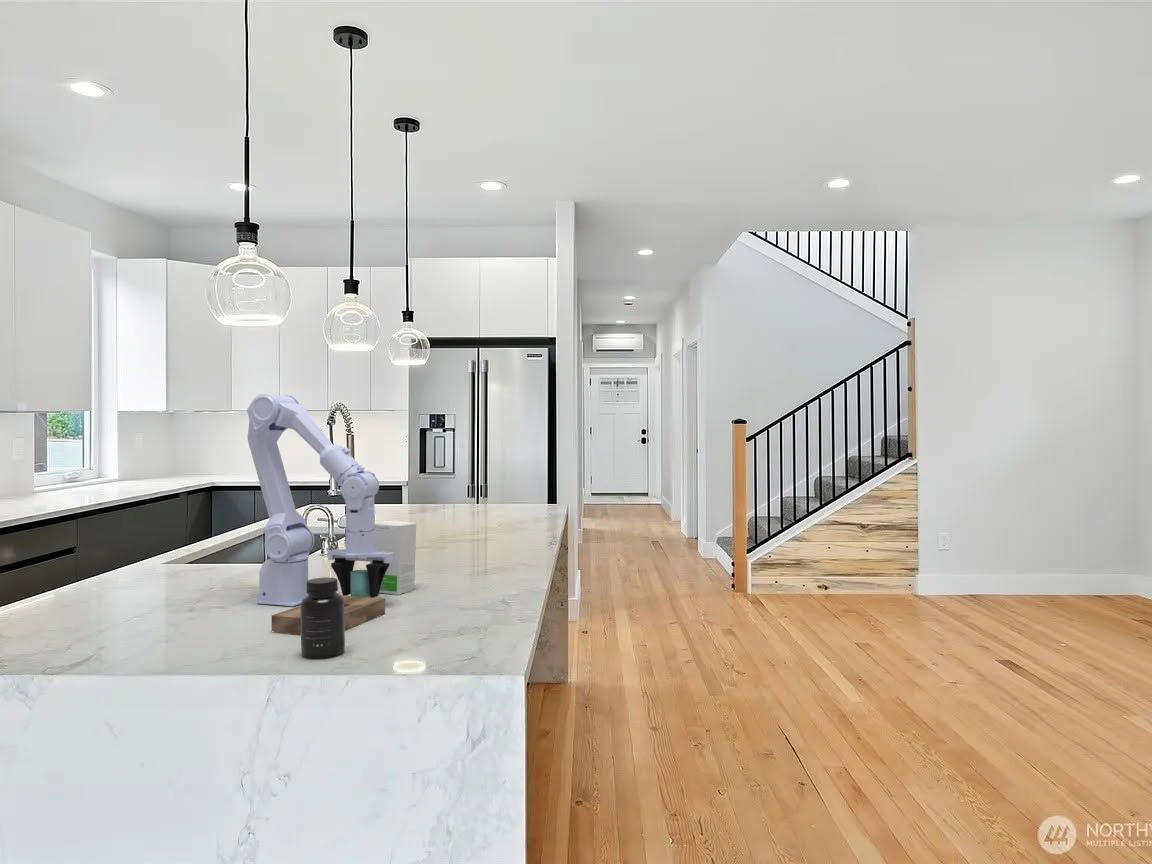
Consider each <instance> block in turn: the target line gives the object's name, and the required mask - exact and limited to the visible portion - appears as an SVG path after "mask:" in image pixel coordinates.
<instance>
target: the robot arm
mask: <svg viewBox="0 0 1152 864" xmlns="http://www.w3.org/2000/svg"><path fill="white" fill-rule="evenodd" d="M246 412H247V415H248V419H249V421H248V422H249V423H248V431H247V442H248V446H249V449H250V453H251V457H252V459H253V460H252V461H253V463H254V468H255V471H256V475H257V478H258V482H259V485H260V490H261V492H262V496H263V500H264V504H265V507H266V511H267V514H268V518H269V519H268V521H267V523H266V525H265V526H264V528H263V531H264V536H265V539H264V540H265V541H264V550H265V553H266V555H267V556H268V558H269V559H267V560H265V561H264V562H263V563H262V564H261V567H260V569H259V574H258V575H259V576H258V577H259V578H258V579H259V580H258V581H259V582H258V583H259V584H258V585H259V586H258V587H259V589H258V590H259V599H258V600H257V601H256V603H257V604H262V605H275V606H287V607H295V606H296V607H297V606H298V605H299V606H300V605H301V602H302V600H303V599H304V598H305V597H307V596H308V593H306V589H307V581H308V580H309V557H310V552H311V551H312V549H313V547H314V545H315V541H316V540H315V535H314V533H313V530H311V529H310V528H309V527H308V525H307V521H306V519H305V517H303V516H302V515H301V514H300V513H299V512H298V511H297V509H296V505H295V503H294V502H295V501H294V499H293V495H292V492H291V488H290V484H289V480H288V477H287V474H286V470H285V467H284V463H283V459H282V456H281V452H280V449H279V445H278V440H279V438H280V437H282V435H283V434H284V432H285V431H287V430H288V429H291V430H293V431H295V432H296V433H297V434H298V435H299V436H300V437H301V438H302V439H303V441H305V442H306V443H307V444H308V445H309V446H310V447H311V448H312V449H314V451H315V452H316V453H317V454H318V455H319V463H320V464H319V465H320V466H321V467H322V468H323V469H324V470H325V471H326V472H327V473H328V474H329V475H330V476H331V477H332V479H334V481H335V482H336V483H337V484H338V485H339V486H340V487H339V491H340V494H341V496H342V498H343V499H344V502H345V543H346V544H345V549H335V548H334V549H329V550H327V559H328V560H329V561H333V562H332V563H330V567H331V569H332V570H333V572H334V573H335V575H336V577H337V578H336V579H337V581H338V582H339V583H338V584H339V586H340V589H341V595H345V596H350V595H351V571H354V566H355V564H356V562H369V563H367V564H365V568H366V570H367V572H368V576H369V590H370V598H378V597H379V595H380V593H379V591H380V587H381V583H382V580H383V577H384V575H385V573H386V571H387V569H388V567H389V565H390V563H391V562H393V553H392V552H383V551H377V550H375V520H376V519H375V516H376V515H375V510H376V509H375V496H376V495H377V494H378V492H379V489H380V482H379V479H378V478H377V475H376V474H375V473H374V472H372V471H368V470H365V467H364V466H363V465H362V464H359V463H358V461H357V460H355V458H353V456H352V455H351V454H350V453H351V450H350V449H349V448H348V447H343V446H342V445H339V444H337V445H336V444H333V442H331V440H330V439H329V438H328V437H327V435H326V434H325V432H324V431H322V429H321V428H320V427H319V425H318V424H317V423H316V421H314V419H313V418H312V417H311V416H310V414H309V413H308V411H307V408H306V406H304V405H303V404H301V403H300V402H299V400H298V399H297V398H296V397H294V396H293V395H287V394H286V395H280V394H279V395H278V394H269V393H259V394H258V395H256V396H255V397H254V398H253V400H252V401H251V403H250V404H249V406H248V407H247V408H246ZM370 562H372V563H370Z"/></svg>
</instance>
